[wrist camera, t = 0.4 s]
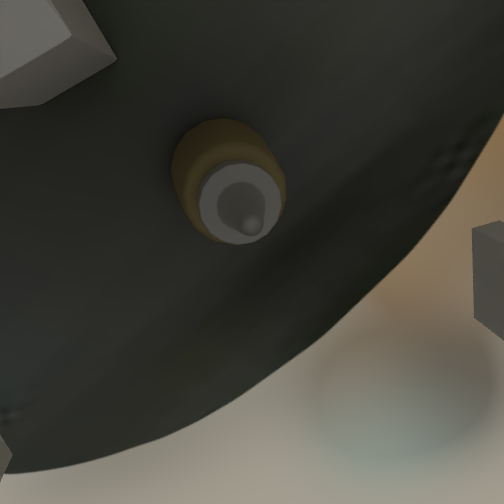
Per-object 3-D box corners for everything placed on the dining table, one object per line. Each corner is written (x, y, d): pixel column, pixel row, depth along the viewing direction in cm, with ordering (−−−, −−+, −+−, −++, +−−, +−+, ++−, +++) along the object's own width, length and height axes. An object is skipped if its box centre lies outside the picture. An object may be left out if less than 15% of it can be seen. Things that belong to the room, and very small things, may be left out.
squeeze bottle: (216, 227, 38) (244, 330, 22) (151, 161, 35) (125, 222, 19) (283, 166, 37) (365, 226, 21) (221, 93, 34) (260, 95, 18)
